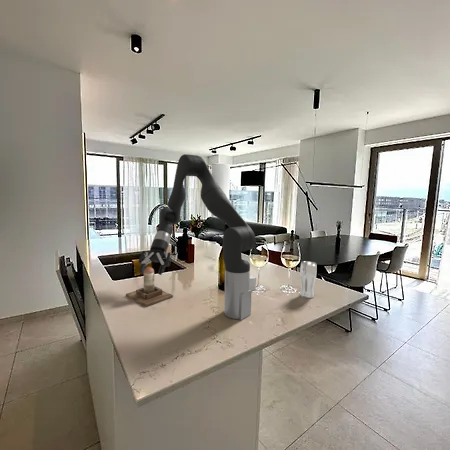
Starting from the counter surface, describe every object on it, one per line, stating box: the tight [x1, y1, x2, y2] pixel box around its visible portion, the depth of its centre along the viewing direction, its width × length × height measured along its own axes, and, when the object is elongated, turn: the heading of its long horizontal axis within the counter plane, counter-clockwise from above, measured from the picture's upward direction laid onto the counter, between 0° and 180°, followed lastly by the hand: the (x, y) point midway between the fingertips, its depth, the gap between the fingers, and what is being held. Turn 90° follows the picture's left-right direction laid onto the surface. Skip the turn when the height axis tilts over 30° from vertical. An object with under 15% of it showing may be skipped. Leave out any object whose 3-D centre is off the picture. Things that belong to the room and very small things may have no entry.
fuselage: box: [143, 266, 155, 294], centre depth 112 cm, size 4×4×12 cm
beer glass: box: [299, 260, 318, 299], centre depth 115 cm, size 7×7×15 cm
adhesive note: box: [249, 273, 257, 291], centre depth 124 cm, size 6×6×6 cm
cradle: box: [125, 285, 174, 308], centre depth 113 cm, size 16×13×3 cm
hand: (150, 273), depth 113 cm, fingers open, 8 cm apart
